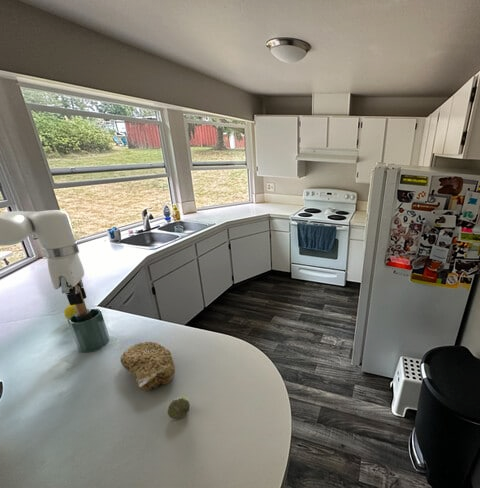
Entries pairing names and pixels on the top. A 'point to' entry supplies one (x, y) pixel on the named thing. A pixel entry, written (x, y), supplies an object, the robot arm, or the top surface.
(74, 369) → the top surface
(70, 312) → the lemon
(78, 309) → the brush
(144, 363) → the beige grainy bag
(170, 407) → the lime
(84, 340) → the teal ceramic mug
